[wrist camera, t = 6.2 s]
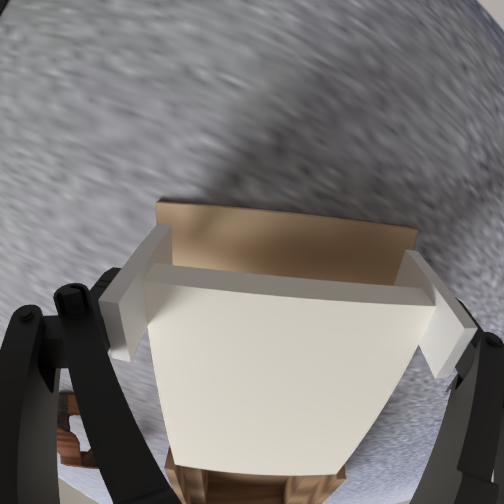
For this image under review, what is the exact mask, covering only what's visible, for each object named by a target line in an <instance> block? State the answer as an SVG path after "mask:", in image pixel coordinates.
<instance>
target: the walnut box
mask: <svg viewBox="0 0 504 504" xmlns="http://www.w3.org/2000/svg"><path fill="white" fill-rule="evenodd" d="M164 469H165V471H166V474H167V476H168V479H169V481H170V484H171V486H172V488H173V490H174V492H175V493H176V495H177V496H178V498H179V499H180V501H181V502H182V504H322V503H323V502H324V501H325V500H326V499H327V498H328V497H329V496H330V495H331V494H332V493H333V492H334V491H335V490H336V489H337V488H338V487H339V486H340V485H341V484H342V483H343V482H344V480H345V479H346V475H345V467H344V465H343V466H342V467H341V469H340V470H339V471H338V473H337V474H331V475H303V476H284V475H257V474H242V473H231V472H222V471H213V470H206V469H199V468H192V467H186V466H181V465H175V463H174V459H173V455H172V451H171V447H170V446H169V451H168V455H167V459H166V463H165V467H164Z"/></svg>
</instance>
